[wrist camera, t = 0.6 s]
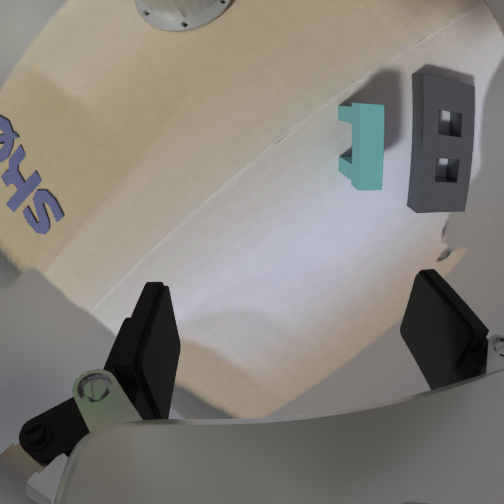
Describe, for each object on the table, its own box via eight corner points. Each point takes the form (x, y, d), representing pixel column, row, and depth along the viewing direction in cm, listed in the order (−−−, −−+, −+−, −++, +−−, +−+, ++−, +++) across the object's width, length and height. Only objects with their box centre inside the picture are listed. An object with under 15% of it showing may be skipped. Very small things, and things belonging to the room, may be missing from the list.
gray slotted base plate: (411, 74, 33) (423, 74, 30) (462, 85, 33) (474, 86, 30) (407, 205, 42) (416, 213, 40) (454, 204, 42) (464, 211, 40)
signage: (66, 215, 40) (33, 245, 42) (68, 213, 41) (35, 243, 42) (-11, 80, 28) (-38, 120, 30) (-8, 80, 28) (-36, 120, 30)
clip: (338, 101, 35) (359, 103, 28) (359, 102, 35) (384, 105, 28) (338, 174, 40) (358, 190, 33) (359, 174, 40) (381, 189, 33)
